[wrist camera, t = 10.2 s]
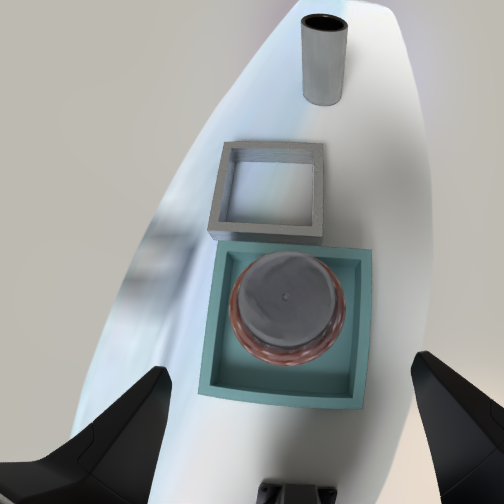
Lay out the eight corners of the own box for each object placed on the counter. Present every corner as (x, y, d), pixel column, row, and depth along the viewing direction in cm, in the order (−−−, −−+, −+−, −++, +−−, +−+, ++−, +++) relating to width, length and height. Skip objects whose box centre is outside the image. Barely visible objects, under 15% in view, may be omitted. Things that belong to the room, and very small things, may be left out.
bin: (353, 401, 20) (362, 408, 17) (209, 389, 22) (197, 394, 19) (362, 261, 23) (371, 249, 21) (226, 252, 25) (218, 240, 22)
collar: (320, 246, 24) (322, 236, 22) (213, 240, 26) (207, 230, 24) (320, 157, 27) (322, 143, 25) (228, 155, 29) (224, 141, 27)
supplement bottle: (299, 375, 21) (307, 401, 10) (235, 334, 22) (184, 320, 12) (340, 309, 22) (383, 272, 11) (276, 271, 24) (262, 205, 13)
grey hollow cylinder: (345, 105, 29) (354, 31, 20) (306, 107, 30) (306, 31, 20) (335, 82, 31) (340, 13, 21) (299, 84, 31) (296, 13, 21)
